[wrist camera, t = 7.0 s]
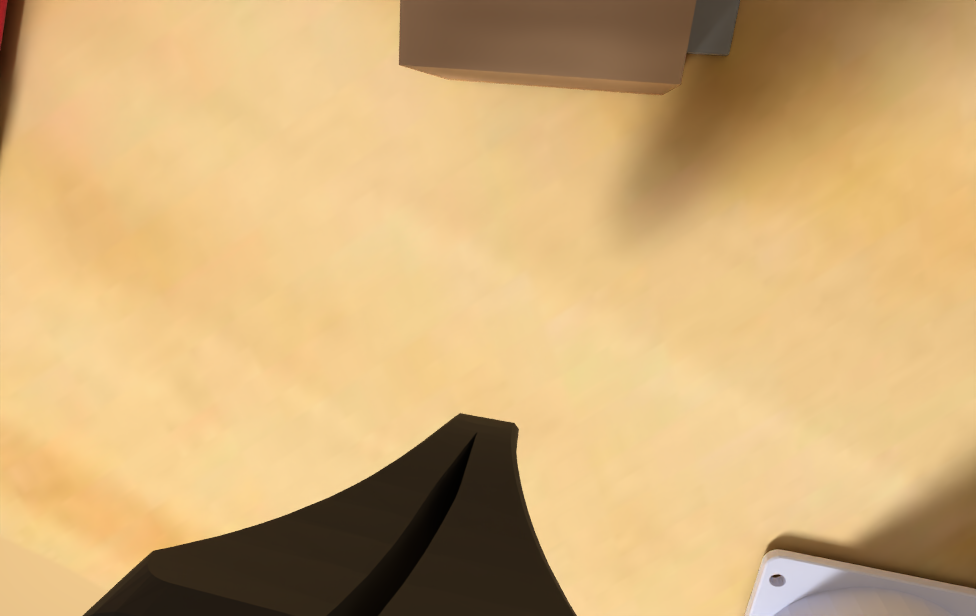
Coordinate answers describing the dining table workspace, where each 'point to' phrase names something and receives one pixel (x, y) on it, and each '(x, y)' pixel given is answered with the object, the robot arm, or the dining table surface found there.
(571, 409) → the dining table surface
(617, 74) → the walnut block
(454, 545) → the robot arm
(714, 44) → the mat
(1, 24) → the calculator
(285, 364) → the dining table surface
